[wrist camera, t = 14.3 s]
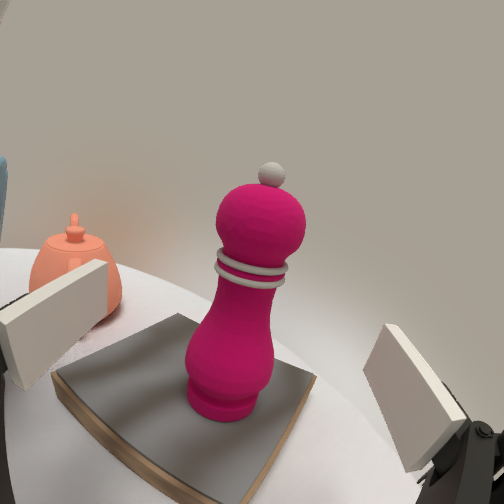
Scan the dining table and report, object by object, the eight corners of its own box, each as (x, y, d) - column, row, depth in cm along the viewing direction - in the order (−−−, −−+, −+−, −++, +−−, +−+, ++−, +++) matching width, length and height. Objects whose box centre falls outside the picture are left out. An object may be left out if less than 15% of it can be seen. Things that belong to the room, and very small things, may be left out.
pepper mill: (171, 376, 24) (205, 150, 19) (238, 368, 27) (286, 170, 22) (197, 434, 18) (254, 149, 13) (274, 416, 21) (350, 181, 17)
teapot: (38, 274, 40) (37, 209, 37) (110, 275, 50) (115, 213, 47) (26, 344, 24) (12, 248, 21) (135, 340, 33) (140, 251, 30)
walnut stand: (57, 397, 19) (49, 368, 18) (174, 334, 37) (177, 310, 36) (228, 529, 12) (238, 517, 11) (307, 396, 30) (318, 373, 29)
